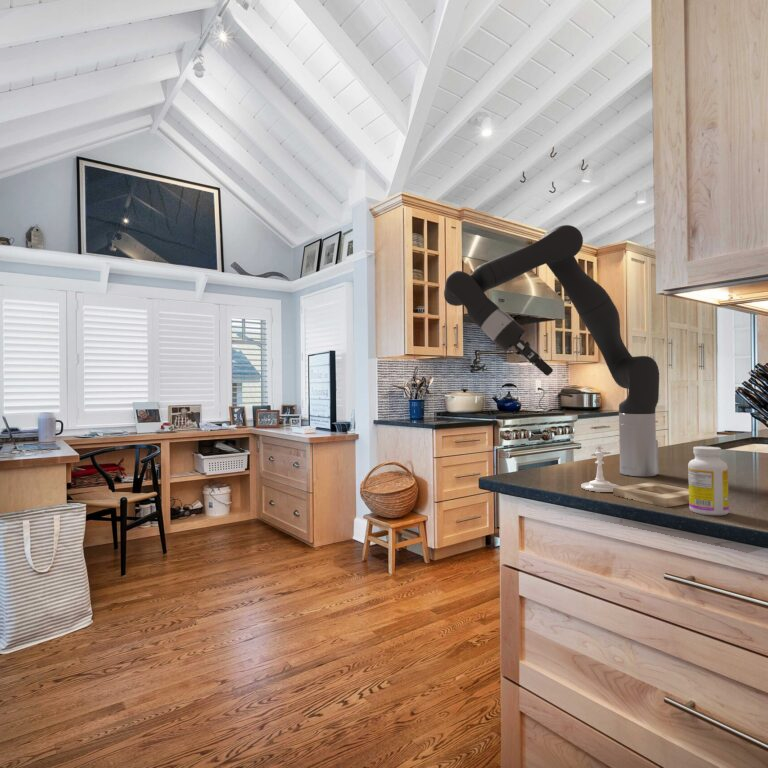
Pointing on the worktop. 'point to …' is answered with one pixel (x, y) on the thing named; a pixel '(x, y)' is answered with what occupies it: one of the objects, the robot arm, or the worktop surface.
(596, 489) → the coaster
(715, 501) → the supplement bottle
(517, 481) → the worktop surface
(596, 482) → the chess piece
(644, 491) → the pocket block
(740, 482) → the worktop surface
